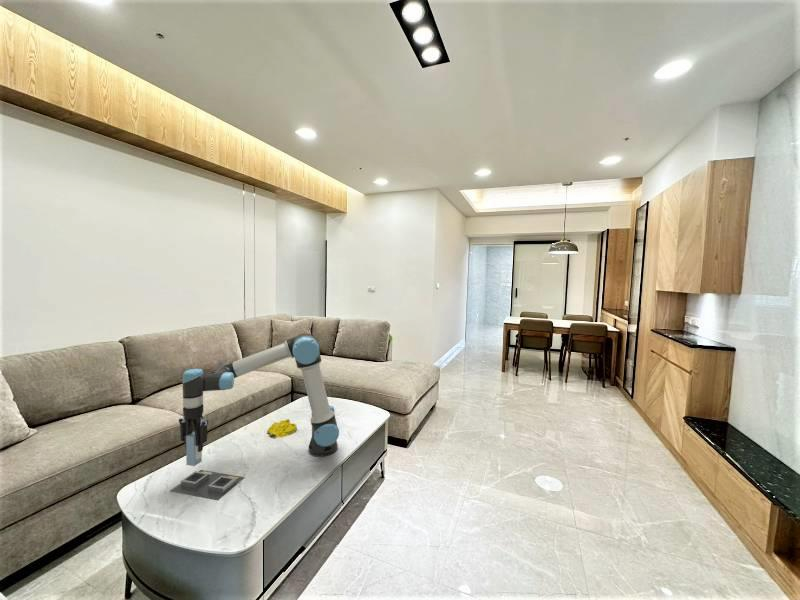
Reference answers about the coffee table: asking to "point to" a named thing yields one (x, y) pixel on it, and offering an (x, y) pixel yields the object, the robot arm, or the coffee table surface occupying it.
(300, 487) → the coffee table surface
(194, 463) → the plug
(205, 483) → the panel
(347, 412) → the coffee table surface
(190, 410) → the robot arm
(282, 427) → the door knocker
